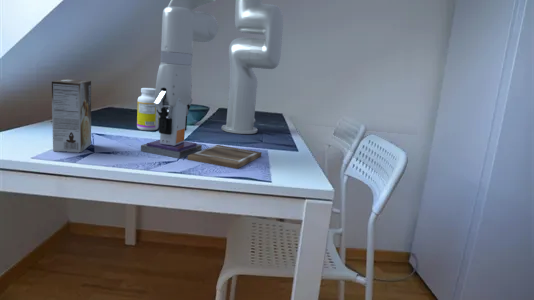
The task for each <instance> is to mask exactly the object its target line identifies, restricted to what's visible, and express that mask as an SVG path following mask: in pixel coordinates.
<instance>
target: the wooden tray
mask: <svg viewBox="0 0 534 300" xmlns="http://www.w3.org/2000/svg"><path fill="white" fill-rule="evenodd" d="M262 154H263V153H262V152H260V151H255V150H250V149H243V148H239V147H234V146H233V147H232V146H225V145H220V144H216V145H213V146H210V147H208V148H205V149H201V151H199V152H196V153H193V154H190V155H188V156H187V160H188V161H194V162H200V163H205V164H210V165H214V166H215V165H216V166H221V167H227V168H231V169H236V170H237V169H239V168H241V167H243V166H245V165H247V164H249V163H251V162H254V161H256V159H259V158H260V157H262Z"/></svg>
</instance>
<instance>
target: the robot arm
mask: <svg viewBox="0 0 534 300" xmlns="http://www.w3.org/2000/svg"><path fill="white" fill-rule="evenodd" d="M215 1H217V0H170V2H169V3H168V5H167V6H166V7H164V9H163V10H162V19H161V40H160V41H161V45H160V64H159V67H158V70H157V74H156V82H155V89H156V90H155V102H154V105H155V107H156V109H157V112H158V117H159V126H158V132H159V134H160V133H162V134H167V135H170V134H171V131H172V119H171V118H170V117H171V113H172V110H173V107H175V106H176V102H177V98H180V99H181V102H182V104H183V105H186V122H185V132H186V131H187V129H188V128H187V125H188V116H189V110H190V108H191V104H192V103H193V99H192V92H193V91H192V86H193V85H192V83H193V82H192V80H193V79H192V67H193V50H194V49H193V47H194V42H197V43H209V42H211V41H213V40H214V39H215V38H216V37H217V35H218V31H219V23H218V21H217V19H216V17H215V16H214V15H213V14H211V13H209V12H206V11H201V10H200V11H195V9H197V8H199V7H201V6H203V5H207V4H210V3H213V2H215ZM234 7H235V9H234V26H235V28H236V30H237V31H238V32H240V33H244V34H249V35H263V36H264V37H265V38H256V37H255V38H254V37H237V38H235V39H233V40H231V42H230V44H229V47H228V57H229V58H228V59H229V86H228V99H227V111H226V124H223V125H222V126H221V130H222V131H224V132H227V133H232V134H240V135H241V134H242V135H252V134H256V133H258V129H259V128H257V127H255V123H256V118H255V115H256V114H255V113H256V100H257V92H258V91H257V89H258V79H257V78H258V77H257V76H256V75H257V74H255V72H254V69H261V70H275V69H276V68H278V66H279V65H280V61H281V56H282V43H283V30H284V16H283V11H282V9H281V8H280V6H278V5H276V4H270V3H263V0H235V6H234ZM164 102H165V103H169V104H168V105H164ZM165 108H167V109H168V111H166V109H165Z"/></svg>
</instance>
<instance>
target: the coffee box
mask: <svg viewBox="0 0 534 300" xmlns="http://www.w3.org/2000/svg"><path fill="white" fill-rule="evenodd" d="M51 113H52V114H51V118H52V122H51V124H52V151H53V152H59V151H67V152H66V153H79V152H81V153H82V152H83V151H85V150H86V149H87V148H88V147H90V145H92V80H82V79H73V78H72V79H71V78H62V79H59V80H58V79H57V80H53V81H51Z"/></svg>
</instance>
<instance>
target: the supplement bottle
mask: <svg viewBox="0 0 534 300" xmlns="http://www.w3.org/2000/svg"><path fill="white" fill-rule="evenodd" d="M155 90H156V88H153V87H142V88H140V92H141V95H140V96H138V98H137V101H136V102H137V103H136V104H137V110H136V112H137V113H136V115H137V116H136V128H137V129H138V130H142V131H156V130H159V120H160V117H158V112H157V109H156V107H155V105H154V102H155Z"/></svg>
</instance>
